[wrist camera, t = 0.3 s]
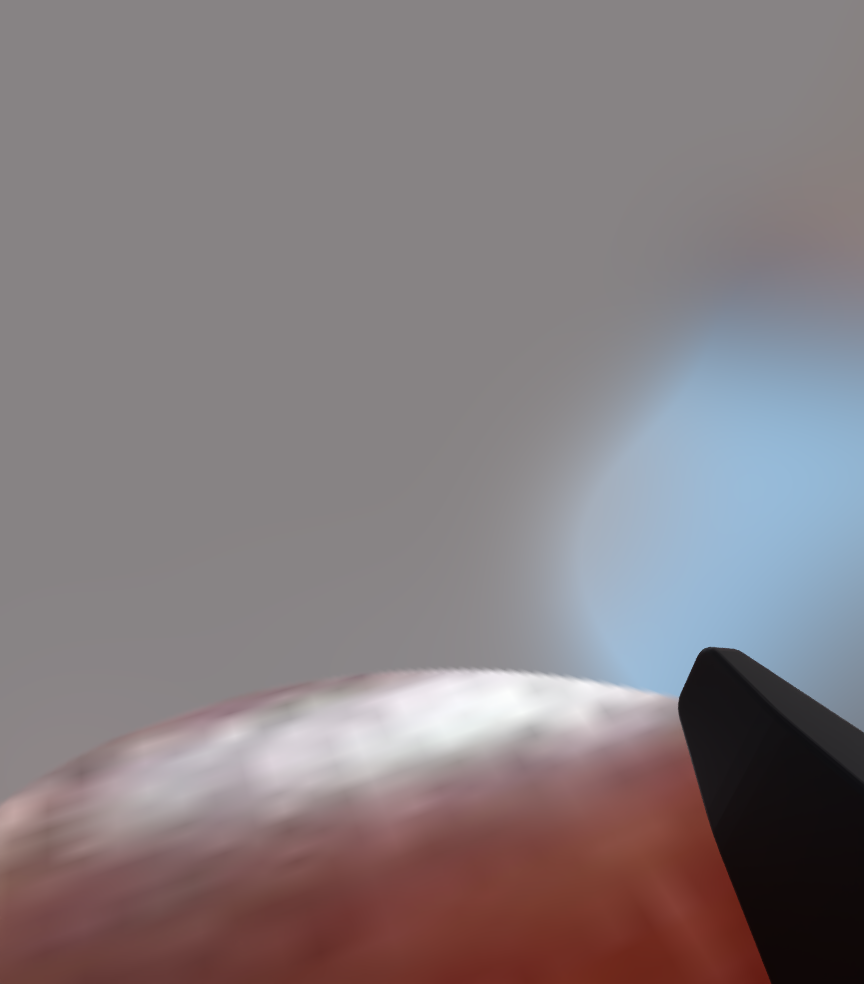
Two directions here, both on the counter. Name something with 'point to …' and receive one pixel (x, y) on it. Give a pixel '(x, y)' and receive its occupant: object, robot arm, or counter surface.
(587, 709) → the counter surface
